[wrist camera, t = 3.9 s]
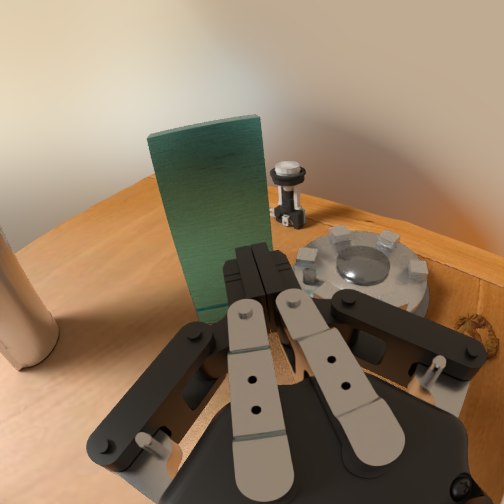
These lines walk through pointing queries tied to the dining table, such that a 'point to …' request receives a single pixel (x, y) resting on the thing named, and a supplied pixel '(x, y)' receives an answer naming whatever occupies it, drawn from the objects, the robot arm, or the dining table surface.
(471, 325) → the leaf
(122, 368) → the dining table surface
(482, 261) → the dining table surface
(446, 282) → the dining table surface
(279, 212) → the push button
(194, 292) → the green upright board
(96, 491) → the dining table surface
